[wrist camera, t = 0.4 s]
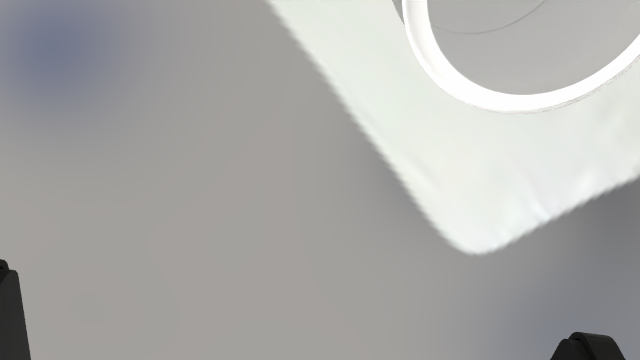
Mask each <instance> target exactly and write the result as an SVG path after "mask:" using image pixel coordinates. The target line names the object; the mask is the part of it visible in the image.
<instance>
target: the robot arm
mask: <svg viewBox="0 0 640 360" xmlns="http://www.w3.org/2000/svg"><path fill="white" fill-rule="evenodd" d="M0 360H31V357H30V350H29V344H28V337H27V330H26V324H25V317H24V310H23V304H22V297H21V291H20V284H19V277H18V273H17V272H16V271H15V270H9V268H8V264H7V262H6V261H5V260H1V259H0ZM550 360H625V358H624V357H623V355H622V353H621V351H620V349H619V347H618V346H617V344H616V342H615V341H614V340H613V338H611V337H609V336H605V335H597V334H589V333H582V332H575V333H573V334H572V335H571V336H570V337H569V338H568V339H563V340H562V341H561V342H560V343H559V345H558V347H557V349H556V350H555V352H554V354H553V356H552V358H551V359H550Z"/></svg>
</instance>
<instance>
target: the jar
mask: <svg viewBox="0 0 640 360" xmlns="http://www.w3.org/2000/svg"><path fill="white" fill-rule="evenodd" d="M393 3H394V6H395V8H396V10H397V12H398V15H399V16H400V18H401V20H402V22H403V24H404V25H405V28H406V31H407V35H408V38H409V41H410V44H411V46H412V49H413V51H414V53H415V55H416V57H417V59H418V60H419V62H420V64H421V65H422V67H423V68H424V70H425V71H426V72H427V73H428V75H429V76H430V77H431V78H432V79H433V80H434V81H435V82H436V83H437V84H438V85H439V86H440V87H441V88H442V89H443V90H445V91H446V92H447V93H449V94H450V95H452V96H453V97H455V98H457V99H458V100H460V101H462V102H464V103H466V104H468V105H471V106H473V107H476V108H479V109H483V110H486V111H491V112H497V113H505V114H529V113H537V112H543V111H548V110H552V109H556V108H560V107H563V106H566V105H569V104H572V103H574V102H577V101H579V100H581V99H584V98H586V97H588V96H590V95H592V94H594V93H595V92H597V91H599V90H601V89H602V88H604V87H605V86H607V85H609V84H610V83H612V82H613V81H614V80H616V79H617V78H618V77H620V76H621V75H622V74H624V73H625V72H626V71H627V70H628V69H630V68H631V67H632V66H633V65H634V64H635V63H636V62H637V61H638V60H639V59H640V0H393Z"/></svg>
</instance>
